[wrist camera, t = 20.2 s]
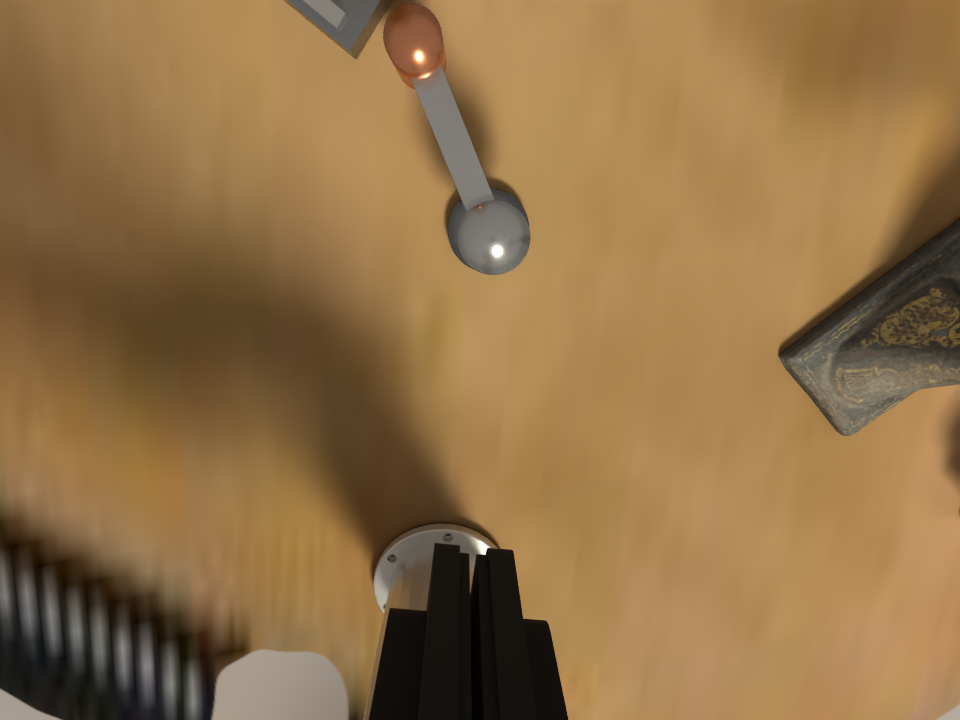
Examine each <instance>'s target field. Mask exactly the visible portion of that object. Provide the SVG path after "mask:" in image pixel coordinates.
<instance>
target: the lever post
mask: <svg viewBox="0 0 960 720" xmlns="http://www.w3.org/2000/svg"><path fill="white" fill-rule="evenodd" d="M490 190H491V192H492V195H493V197H494V200H498V201H504V202H506V203H509V204H511V205H513V206H514V207H516V208H517V209H518V210H519V211H520V212H521V213H522V214H523V216H524V217H525V219H526V221H527V223H528V226H529V222H528V218H527V215H526V212H525V210H524V209H523V207H522V205H521V204H520V203H519V202H518V200H516V199H515V198H514V197H513V196H512V195H510V194H509V193H507V192H505V191H502V190H499V189H493V188H490ZM466 212H467V211H466V209H465V207H464V204H463V202H462V199H461V200H460V201H459V202H458V204H457V205H456V206H455V208H454V209H453V211H452V214H451V216H450V219H449V224H448V237H449V242H450V245H451V247H452V249H453V251H454V253H455V255H456V256H457V257H458V258H459V259H460V261H462V262H463V263H464V264H465V265H467V266H468V267H470V268H472V267H471V266H469V265H468V264H467V262H466V261H465V260H464V258H463V257H462V255H461V253H460V250H459V246H458V230H459V226H460V223H461V220H462V218H463V217H464V215H465V214H466ZM472 269H473V268H472Z"/></svg>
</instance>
